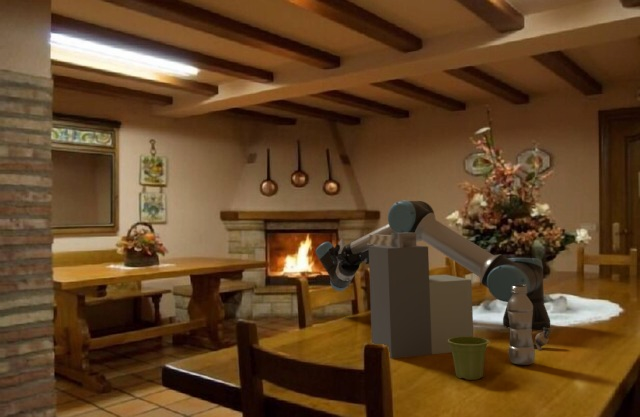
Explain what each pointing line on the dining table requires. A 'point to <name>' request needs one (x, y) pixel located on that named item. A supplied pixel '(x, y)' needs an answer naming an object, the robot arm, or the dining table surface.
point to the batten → (394, 240)
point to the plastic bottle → (520, 327)
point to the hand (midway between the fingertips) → (361, 241)
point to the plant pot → (468, 356)
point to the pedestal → (416, 303)
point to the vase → (542, 338)
